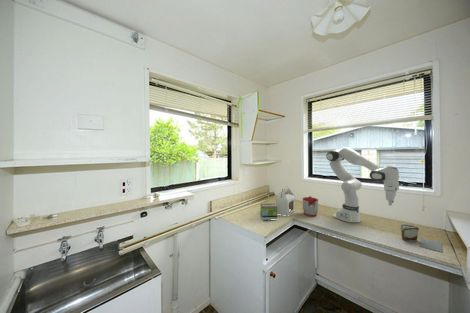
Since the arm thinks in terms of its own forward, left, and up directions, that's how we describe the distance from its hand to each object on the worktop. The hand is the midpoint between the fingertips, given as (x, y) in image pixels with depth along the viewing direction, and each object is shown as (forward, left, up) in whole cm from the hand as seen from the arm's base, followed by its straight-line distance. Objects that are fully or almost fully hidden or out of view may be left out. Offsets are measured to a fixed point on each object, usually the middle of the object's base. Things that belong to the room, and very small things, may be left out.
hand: (391, 203), depth 135 cm
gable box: (-85, -18, -25) cm, 90 cm away
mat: (+21, 0, -25) cm, 32 cm away
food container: (+9, 0, -25) cm, 27 cm away
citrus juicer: (-63, -5, -25) cm, 68 cm away
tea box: (-87, -45, -25) cm, 101 cm away
